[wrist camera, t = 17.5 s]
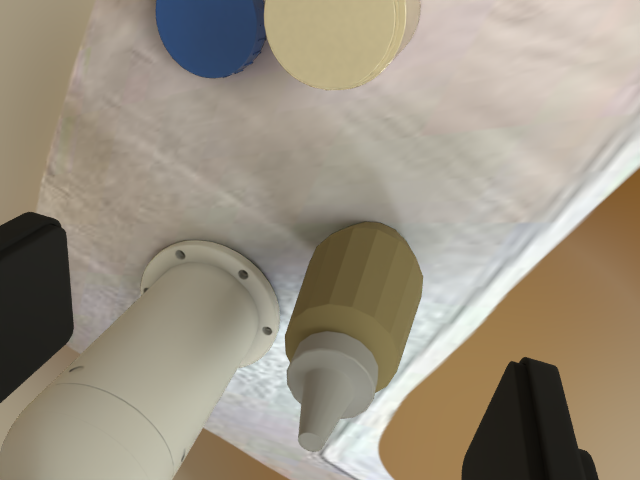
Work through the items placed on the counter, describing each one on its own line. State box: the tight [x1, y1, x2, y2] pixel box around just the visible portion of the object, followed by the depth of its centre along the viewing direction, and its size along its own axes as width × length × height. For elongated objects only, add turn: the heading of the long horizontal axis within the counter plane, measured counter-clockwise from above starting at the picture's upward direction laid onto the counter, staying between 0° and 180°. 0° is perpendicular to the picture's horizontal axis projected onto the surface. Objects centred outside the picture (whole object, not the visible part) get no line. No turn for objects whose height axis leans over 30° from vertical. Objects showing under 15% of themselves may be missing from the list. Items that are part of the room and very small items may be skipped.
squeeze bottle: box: [285, 222, 423, 452], centre depth 30 cm, size 8×8×18 cm
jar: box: [264, 0, 421, 90], centre depth 26 cm, size 6×6×11 cm
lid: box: [156, 0, 266, 78], centre depth 32 cm, size 7×7×2 cm
